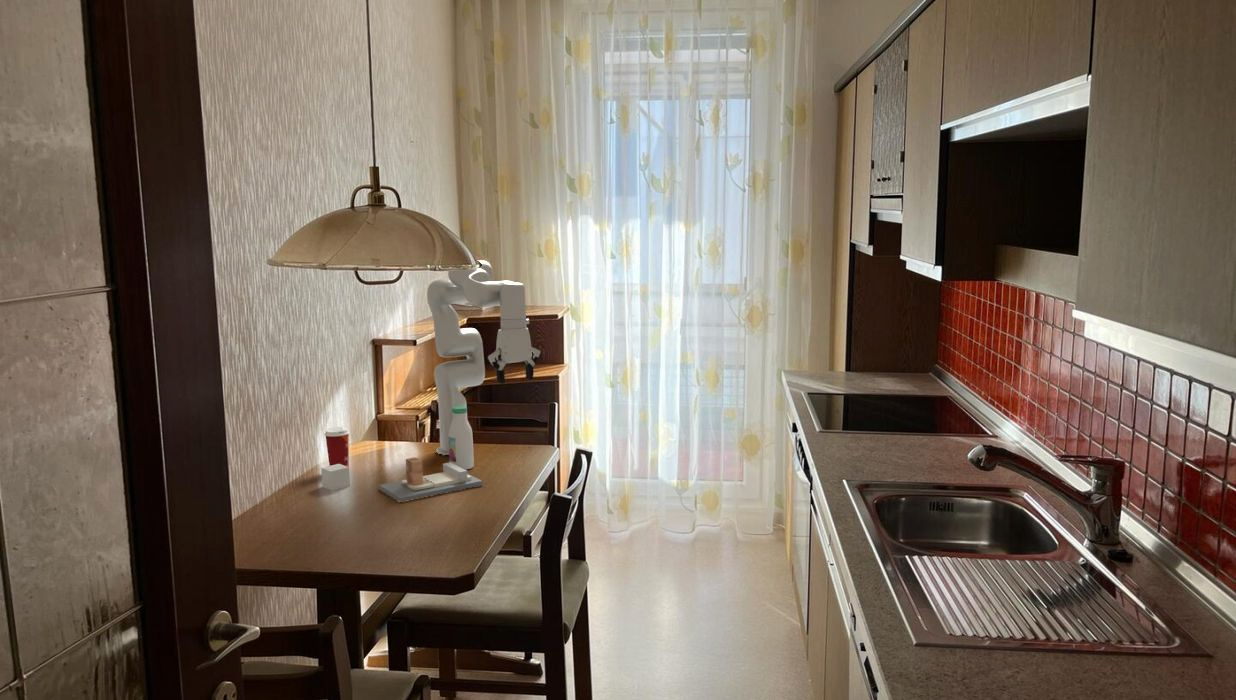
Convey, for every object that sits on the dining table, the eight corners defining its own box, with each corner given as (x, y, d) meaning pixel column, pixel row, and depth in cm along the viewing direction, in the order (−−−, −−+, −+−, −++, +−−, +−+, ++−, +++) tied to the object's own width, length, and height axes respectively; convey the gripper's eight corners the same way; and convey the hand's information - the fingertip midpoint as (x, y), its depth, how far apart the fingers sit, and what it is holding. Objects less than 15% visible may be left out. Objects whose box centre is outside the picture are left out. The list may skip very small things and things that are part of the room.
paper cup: (355, 472, 282) (352, 429, 280) (331, 476, 277) (328, 433, 275) (346, 467, 288) (344, 425, 286) (323, 471, 283) (320, 429, 281)
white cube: (332, 490, 263) (330, 471, 262) (322, 487, 267) (320, 467, 266) (350, 486, 267) (349, 467, 266) (340, 482, 271) (339, 463, 270)
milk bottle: (475, 464, 289) (472, 404, 286) (472, 470, 281) (469, 409, 278) (451, 464, 288) (449, 405, 285) (448, 471, 281) (445, 410, 278)
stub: (401, 483, 263) (399, 457, 262) (420, 479, 267) (418, 454, 265) (414, 490, 255) (413, 464, 254) (433, 486, 259) (432, 461, 257)
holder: (379, 489, 262) (378, 473, 262) (458, 473, 278) (458, 458, 277) (400, 503, 250) (399, 486, 249) (482, 485, 265) (481, 469, 264)
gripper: (532, 321, 270) (534, 375, 272) (481, 325, 260) (483, 382, 262) (544, 323, 264) (546, 379, 266) (493, 328, 254) (495, 386, 256)
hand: (515, 380), depth 264 cm, fingers open, 9 cm apart
